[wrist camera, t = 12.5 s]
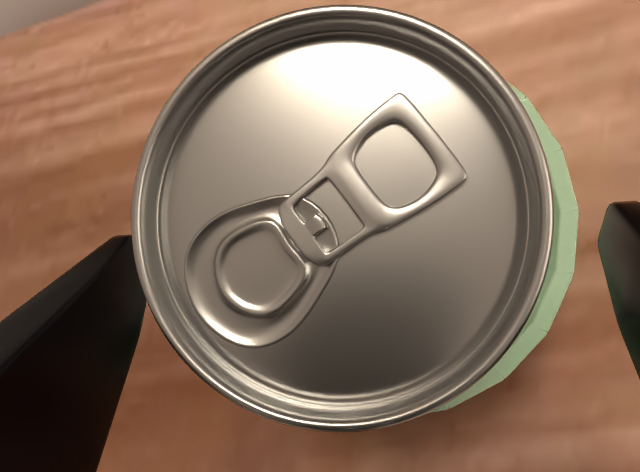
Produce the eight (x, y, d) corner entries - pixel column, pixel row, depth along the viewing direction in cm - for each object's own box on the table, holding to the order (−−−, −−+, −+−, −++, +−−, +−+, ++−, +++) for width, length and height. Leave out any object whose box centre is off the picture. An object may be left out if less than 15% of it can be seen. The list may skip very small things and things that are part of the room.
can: (266, 219, 19) (24, 176, 7) (398, 114, 18) (373, -133, 6) (364, 355, 18) (275, 562, 6) (508, 253, 17) (722, 270, 5)
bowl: (586, 147, 17) (646, 113, 13) (463, 426, 18) (480, 486, 14) (307, 50, 19) (276, -8, 15) (205, 304, 20) (146, 321, 16)
